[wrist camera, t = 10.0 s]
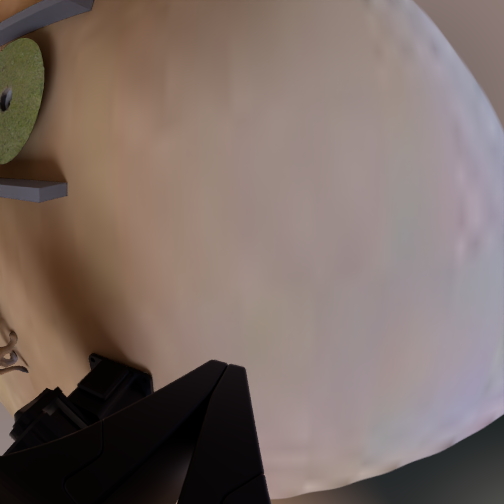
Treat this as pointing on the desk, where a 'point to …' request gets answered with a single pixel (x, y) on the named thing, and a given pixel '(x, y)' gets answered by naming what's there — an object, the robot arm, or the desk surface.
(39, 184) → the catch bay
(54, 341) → the desk surface
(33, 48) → the green speckled disc
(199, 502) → the robot arm
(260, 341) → the desk surface
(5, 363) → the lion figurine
